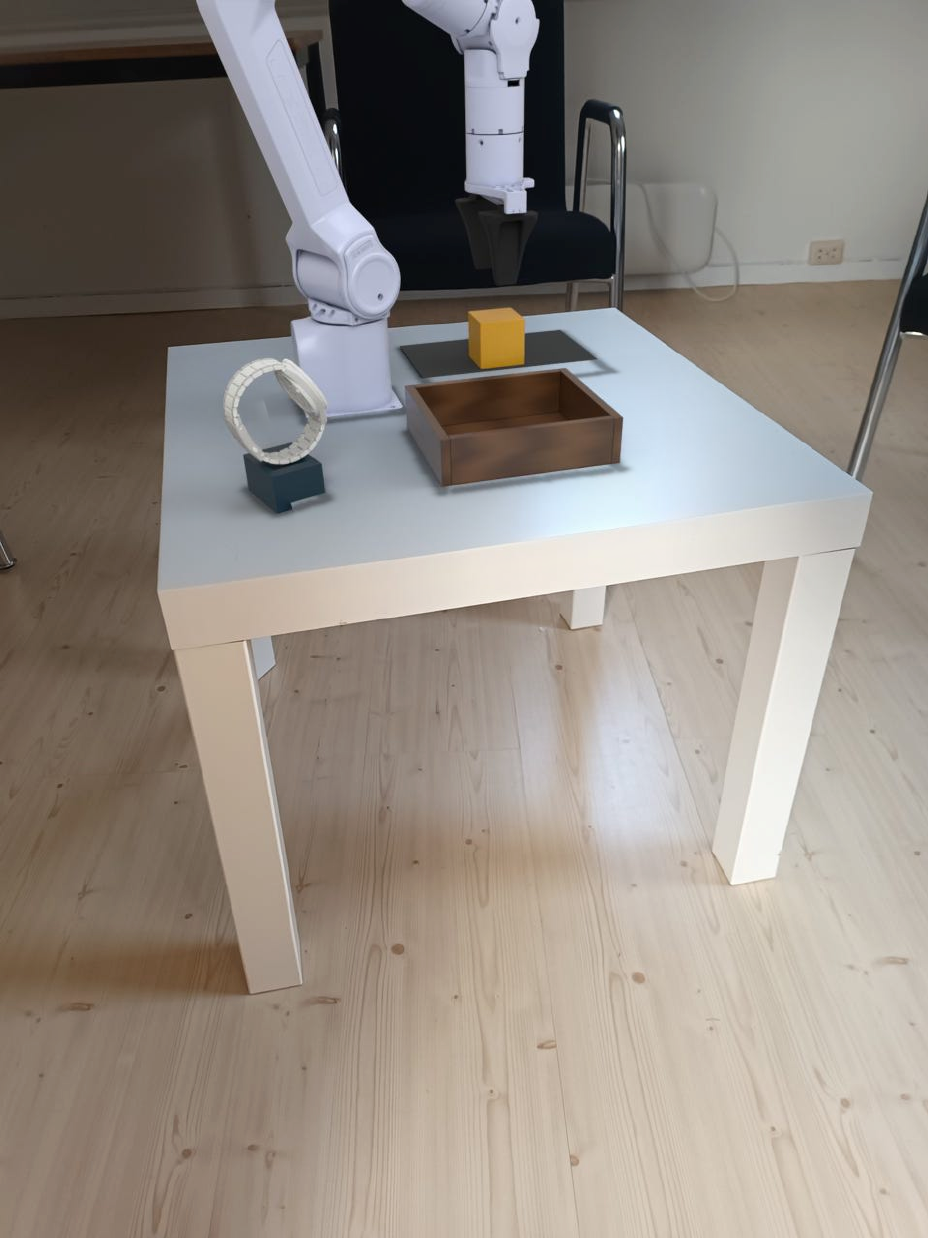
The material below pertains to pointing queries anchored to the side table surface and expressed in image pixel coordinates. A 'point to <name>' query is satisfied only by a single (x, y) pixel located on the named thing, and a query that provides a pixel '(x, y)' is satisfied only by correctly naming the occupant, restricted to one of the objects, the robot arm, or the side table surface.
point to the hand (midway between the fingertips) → (494, 275)
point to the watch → (289, 465)
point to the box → (511, 426)
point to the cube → (496, 338)
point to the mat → (456, 361)
